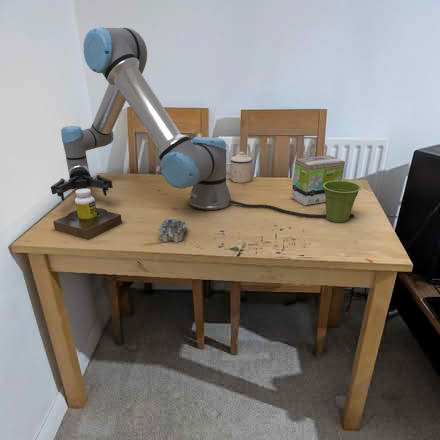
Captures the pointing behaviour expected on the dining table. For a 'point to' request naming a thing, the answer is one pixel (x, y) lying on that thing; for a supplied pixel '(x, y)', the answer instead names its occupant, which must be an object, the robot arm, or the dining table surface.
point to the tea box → (315, 177)
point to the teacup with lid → (240, 168)
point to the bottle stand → (87, 223)
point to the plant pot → (340, 199)
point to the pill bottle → (85, 204)
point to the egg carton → (172, 230)
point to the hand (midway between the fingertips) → (83, 194)
